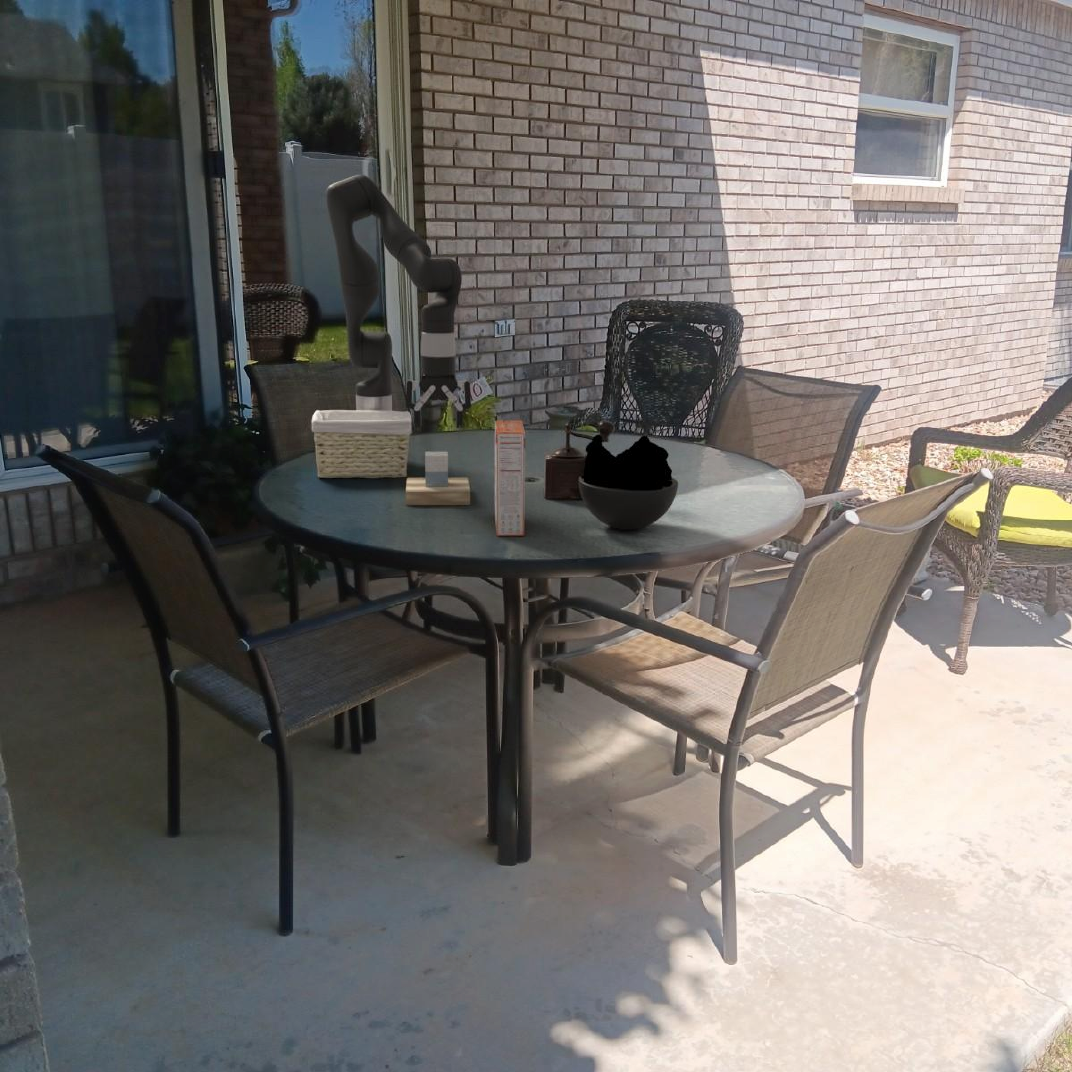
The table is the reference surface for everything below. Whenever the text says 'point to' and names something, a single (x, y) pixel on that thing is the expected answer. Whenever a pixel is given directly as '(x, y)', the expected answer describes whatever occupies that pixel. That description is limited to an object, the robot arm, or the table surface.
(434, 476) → the gray block
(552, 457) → the wooden coffee grinder
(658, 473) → the bowl of black rocks
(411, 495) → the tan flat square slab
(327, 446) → the storage basket
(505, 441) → the cracker box
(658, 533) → the table surface
